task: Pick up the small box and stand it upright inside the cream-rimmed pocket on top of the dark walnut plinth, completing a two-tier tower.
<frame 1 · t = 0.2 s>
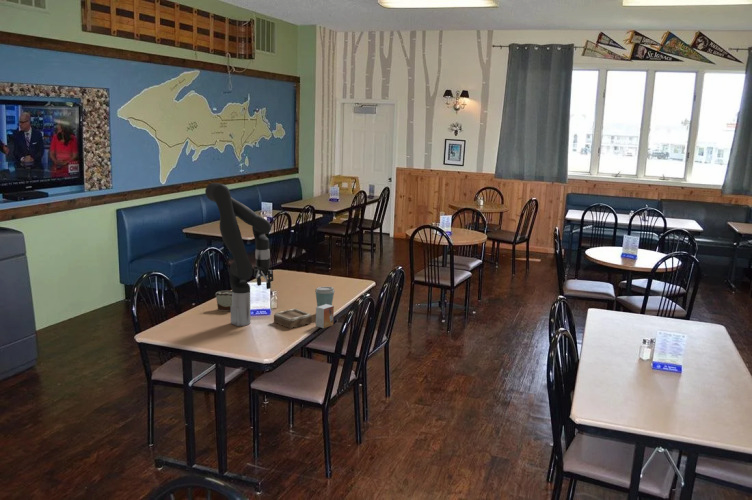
hand: (263, 287, 341), 17 cm above the table, tool pointing down, fingers open, 8 cm apart
food container: (228, 309, 359), on the table
disposable coffee cup: (324, 314, 356), on the table
small box: (324, 326, 335), on the table
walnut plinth: (292, 322, 338), on the table
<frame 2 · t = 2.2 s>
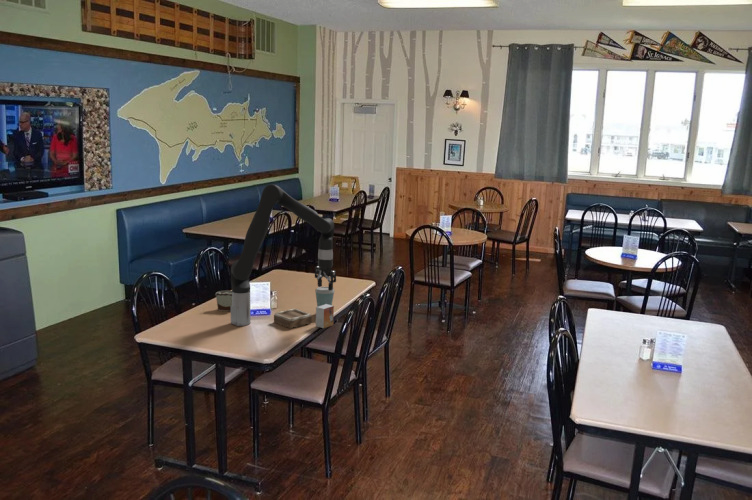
hand: (325, 288, 331), 20 cm above the table, tool pointing down, fingers open, 8 cm apart
nothing on the table moved.
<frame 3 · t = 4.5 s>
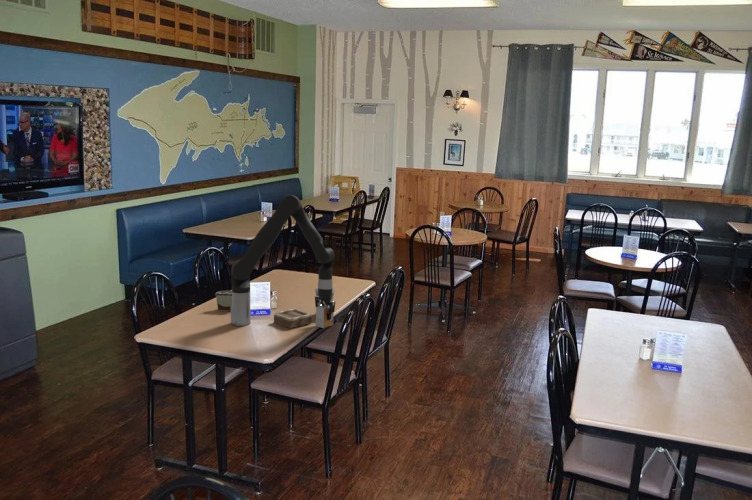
hand: (324, 318, 335), 4 cm above the table, tool pointing down, fingers closed on small box, 6 cm apart
small box: (324, 326, 335), on the table, touching gripper
everything else where it was.
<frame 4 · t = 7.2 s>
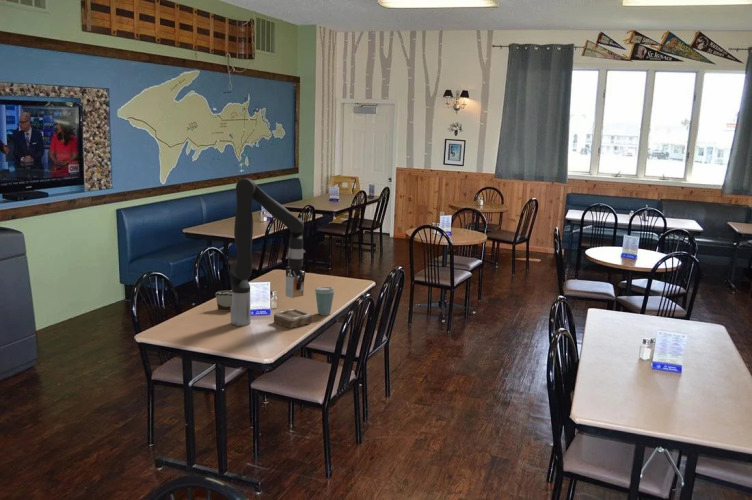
hand: (294, 288, 334), 19 cm above the table, tool pointing down, fingers closed on small box, 6 cm apart
small box: (294, 296, 335), point 15 cm above the table, touching gripper
everything else where it was.
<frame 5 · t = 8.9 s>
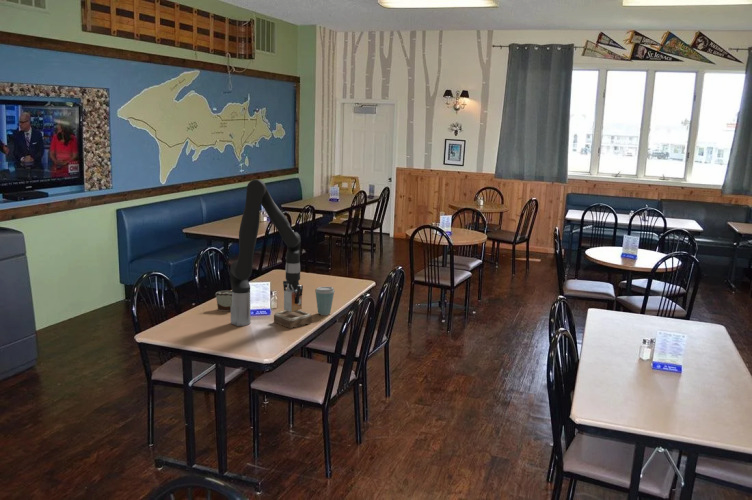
hand: (292, 302, 336), 11 cm above the table, tool pointing down, fingers closed on small box, 6 cm apart
small box: (292, 309, 337), point 7 cm above the table, touching gripper
everything else where it was.
when the fingers open (10 cm above the table, at t = 10.1 s): small box drops 2 cm, resting on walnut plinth.
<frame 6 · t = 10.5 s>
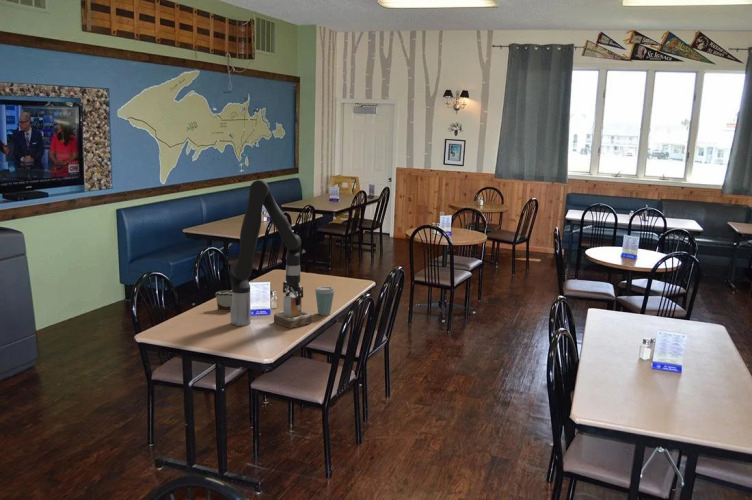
hand: (292, 303, 336), 11 cm above the table, tool pointing down, fingers open, 8 cm apart
small box: (292, 315, 338), point 4 cm above the table, touching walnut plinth
everything else where it was.
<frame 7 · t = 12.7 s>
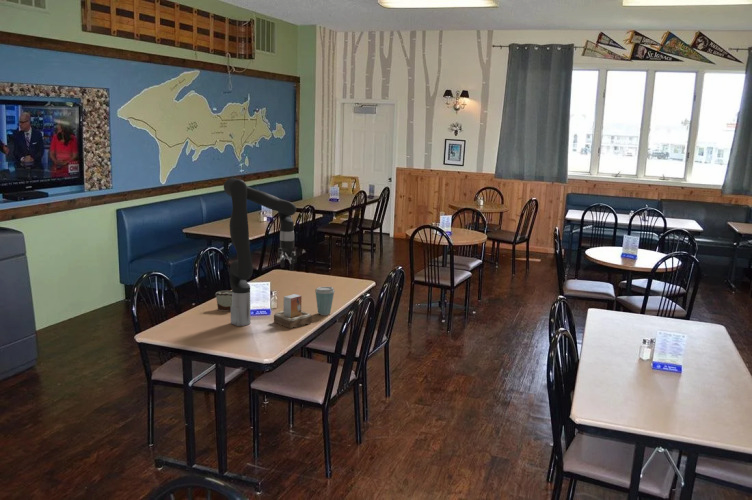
hand: (287, 268, 345), 26 cm above the table, tool pointing down, fingers open, 8 cm apart
nothing on the table moved.
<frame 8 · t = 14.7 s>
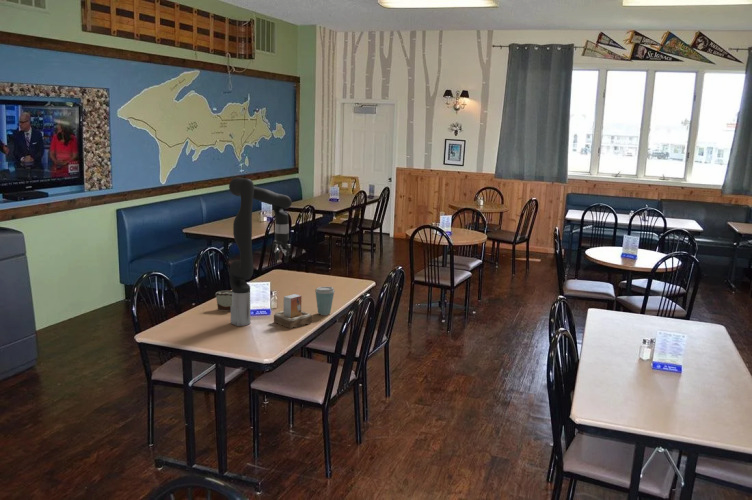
hand: (281, 260, 354), 28 cm above the table, tool pointing down, fingers open, 8 cm apart
nothing on the table moved.
at the end: small box 0.3 cm off-centre on the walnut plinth, point 3.8 cm above the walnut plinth's base; small box tilted 0°; the gripper is holding nothing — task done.
